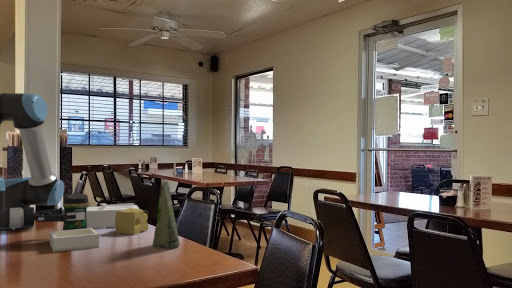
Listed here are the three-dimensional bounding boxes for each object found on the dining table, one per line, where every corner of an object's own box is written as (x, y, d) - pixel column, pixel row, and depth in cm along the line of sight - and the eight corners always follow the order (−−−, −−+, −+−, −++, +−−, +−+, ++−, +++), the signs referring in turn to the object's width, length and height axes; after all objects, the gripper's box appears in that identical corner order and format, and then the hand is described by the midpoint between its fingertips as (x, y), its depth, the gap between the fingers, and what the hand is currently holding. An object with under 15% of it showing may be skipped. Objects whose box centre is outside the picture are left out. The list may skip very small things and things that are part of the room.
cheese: (148, 230, 186) (148, 209, 186) (134, 235, 176) (134, 212, 176) (129, 229, 189) (129, 207, 189) (114, 233, 179) (114, 210, 179)
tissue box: (83, 224, 201) (83, 202, 201) (135, 221, 210) (136, 200, 211) (83, 230, 187) (83, 206, 188) (139, 226, 197) (139, 204, 197)
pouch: (161, 251, 149) (162, 183, 149) (143, 246, 157) (144, 181, 157) (186, 246, 157) (187, 181, 157) (168, 241, 165) (169, 179, 165)
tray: (49, 244, 157) (50, 231, 157) (92, 240, 165) (92, 228, 165) (53, 252, 145) (53, 238, 146) (98, 247, 154) (99, 234, 154)
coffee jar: (64, 242, 160) (65, 195, 161) (60, 239, 167) (61, 193, 167) (89, 239, 166) (90, 194, 166) (85, 236, 172) (85, 192, 173)
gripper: (21, 222, 167) (77, 218, 178) (23, 233, 146) (86, 227, 157) (21, 203, 167) (77, 200, 178) (24, 212, 146) (87, 208, 157)
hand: (82, 213), depth 168 cm, fingers open, 13 cm apart
